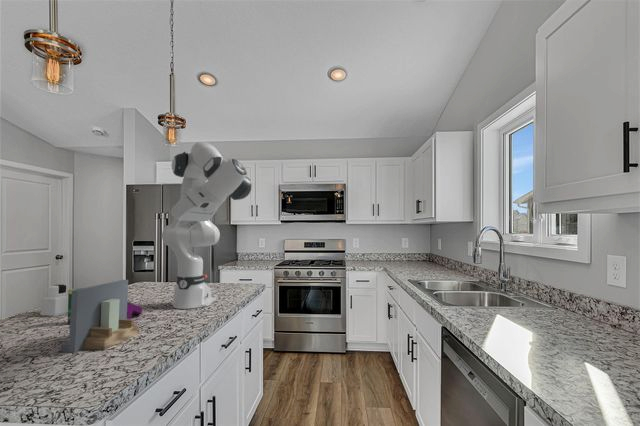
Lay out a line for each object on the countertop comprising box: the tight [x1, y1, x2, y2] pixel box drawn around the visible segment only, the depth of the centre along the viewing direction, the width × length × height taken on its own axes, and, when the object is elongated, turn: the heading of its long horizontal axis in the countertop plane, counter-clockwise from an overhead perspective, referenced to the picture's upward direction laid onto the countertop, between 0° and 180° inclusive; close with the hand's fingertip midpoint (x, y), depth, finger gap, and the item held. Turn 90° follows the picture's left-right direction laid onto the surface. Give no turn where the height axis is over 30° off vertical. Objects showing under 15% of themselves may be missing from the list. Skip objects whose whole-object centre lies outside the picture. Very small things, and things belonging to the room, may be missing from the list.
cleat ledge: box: [84, 318, 139, 351], centre depth 100 cm, size 14×7×6 cm, turn 172°
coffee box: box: [67, 288, 82, 326], centre depth 118 cm, size 8×3×13 cm, turn 126°
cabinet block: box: [100, 299, 120, 332], centre depth 100 cm, size 4×3×10 cm
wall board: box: [59, 279, 129, 353], centre depth 101 cm, size 20×5×18 cm, turn 172°
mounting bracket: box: [127, 301, 143, 319], centre depth 121 cm, size 10×8×18 cm
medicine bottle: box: [40, 284, 68, 317], centre depth 130 cm, size 7×7×12 cm
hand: (180, 227), depth 105 cm, fingers open, 8 cm apart
